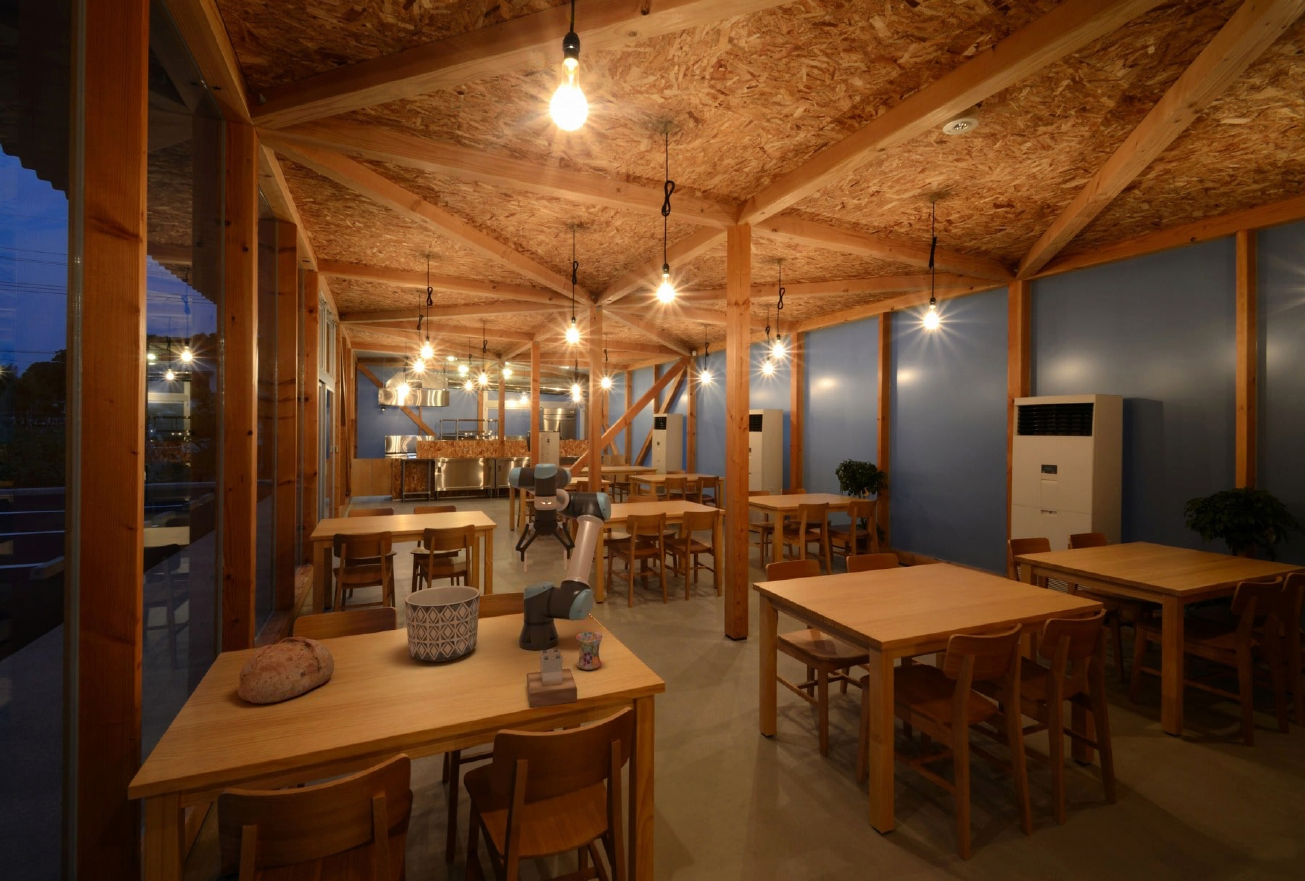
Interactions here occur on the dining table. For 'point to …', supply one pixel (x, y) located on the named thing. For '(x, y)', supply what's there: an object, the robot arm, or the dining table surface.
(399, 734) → the dining table surface
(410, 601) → the planter
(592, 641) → the mug
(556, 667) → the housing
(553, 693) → the stand
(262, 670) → the bread
